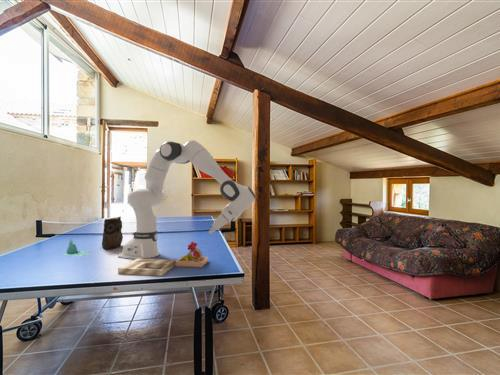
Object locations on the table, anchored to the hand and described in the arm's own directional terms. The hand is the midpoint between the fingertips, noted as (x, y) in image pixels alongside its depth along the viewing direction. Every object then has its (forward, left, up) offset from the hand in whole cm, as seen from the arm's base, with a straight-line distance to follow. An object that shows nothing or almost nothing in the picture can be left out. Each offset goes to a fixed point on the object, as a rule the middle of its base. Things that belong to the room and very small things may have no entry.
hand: (212, 231), depth 139 cm
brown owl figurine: (-76, +29, -18) cm, 83 cm away
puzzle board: (-29, -11, -17) cm, 36 cm away
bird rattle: (-10, +1, -17) cm, 20 cm away
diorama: (-85, +11, -18) cm, 88 cm away
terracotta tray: (-11, 0, -17) cm, 20 cm away
